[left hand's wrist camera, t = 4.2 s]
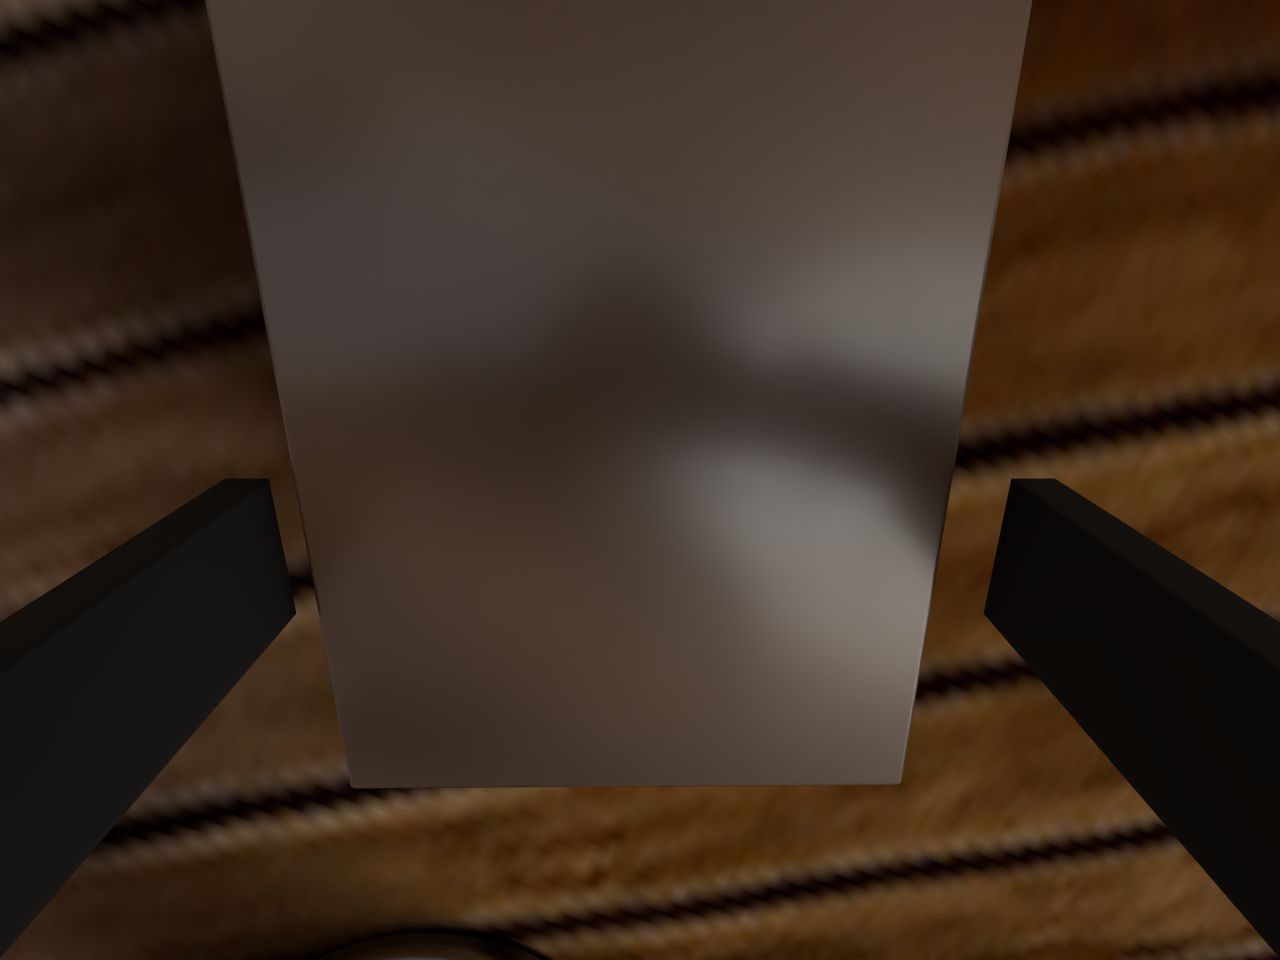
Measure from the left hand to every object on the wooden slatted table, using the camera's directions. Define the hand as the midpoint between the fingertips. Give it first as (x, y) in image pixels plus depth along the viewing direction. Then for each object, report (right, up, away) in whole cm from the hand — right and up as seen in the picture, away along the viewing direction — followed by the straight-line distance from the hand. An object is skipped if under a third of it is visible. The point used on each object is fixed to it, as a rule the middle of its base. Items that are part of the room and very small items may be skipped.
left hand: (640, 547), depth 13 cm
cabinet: (0, +7, +7) cm, 10 cm away
